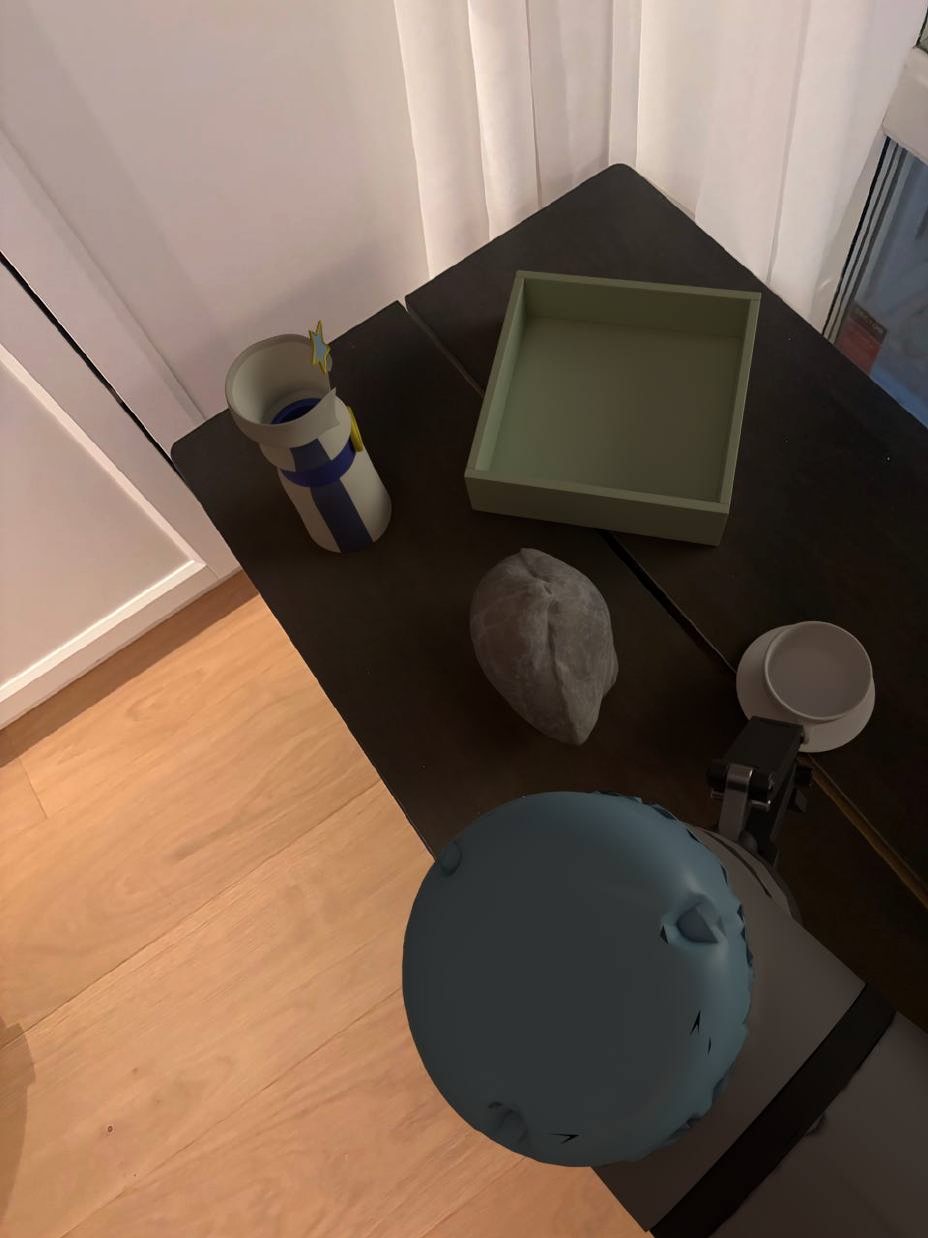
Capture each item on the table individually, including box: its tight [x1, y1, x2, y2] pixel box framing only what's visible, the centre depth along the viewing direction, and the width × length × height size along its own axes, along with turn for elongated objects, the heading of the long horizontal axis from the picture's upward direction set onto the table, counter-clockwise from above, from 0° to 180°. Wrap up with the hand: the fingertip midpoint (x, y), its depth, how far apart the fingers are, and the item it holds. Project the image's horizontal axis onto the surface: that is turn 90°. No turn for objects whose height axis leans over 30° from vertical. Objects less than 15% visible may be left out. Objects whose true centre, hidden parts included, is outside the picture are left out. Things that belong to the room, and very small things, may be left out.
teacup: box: [735, 620, 876, 753], centre depth 67 cm, size 10×10×5 cm
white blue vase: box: [224, 319, 393, 554], centre depth 68 cm, size 8×9×25 cm
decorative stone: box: [468, 547, 619, 747], centre depth 65 cm, size 15×10×15 cm
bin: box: [463, 269, 762, 547], centre depth 76 cm, size 21×21×6 cm
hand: (756, 922), depth 50 cm, fingers open, 13 cm apart
